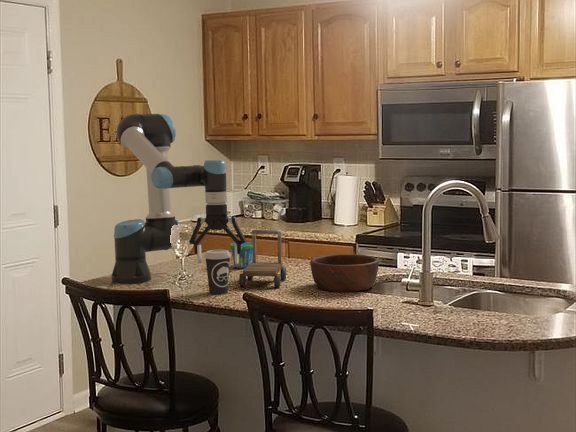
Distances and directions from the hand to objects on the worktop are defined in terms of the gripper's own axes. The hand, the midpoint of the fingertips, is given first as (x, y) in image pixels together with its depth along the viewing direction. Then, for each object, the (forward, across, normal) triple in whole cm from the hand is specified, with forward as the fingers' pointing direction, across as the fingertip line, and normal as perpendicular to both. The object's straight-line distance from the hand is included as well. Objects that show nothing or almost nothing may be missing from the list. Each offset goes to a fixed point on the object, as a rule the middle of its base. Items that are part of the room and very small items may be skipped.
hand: (218, 263), depth 274 cm
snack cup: (+10, -2, +51) cm, 52 cm away
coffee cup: (+11, 0, 0) cm, 11 cm away
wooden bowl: (+11, +44, +14) cm, 47 cm away
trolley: (+11, +13, +18) cm, 25 cm away
